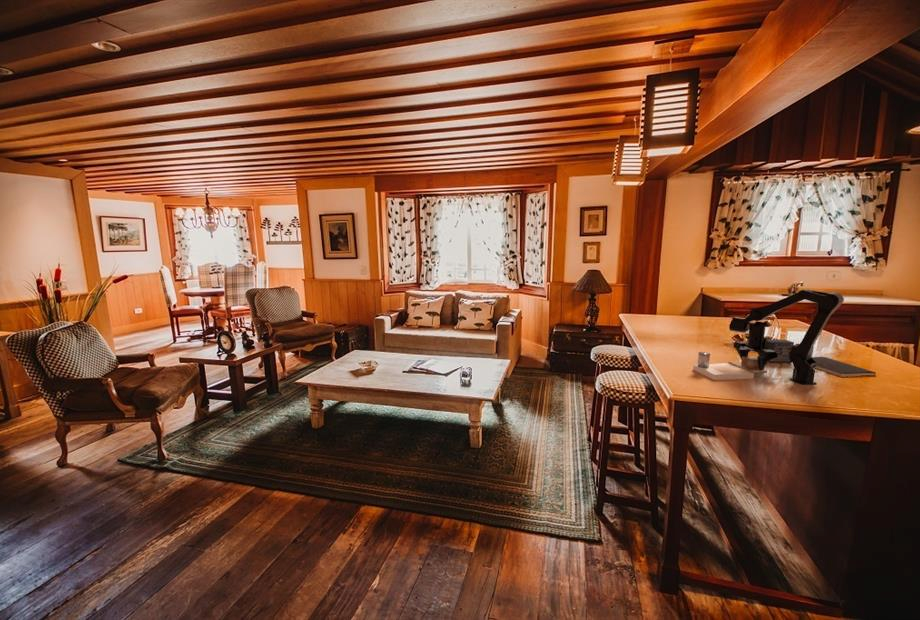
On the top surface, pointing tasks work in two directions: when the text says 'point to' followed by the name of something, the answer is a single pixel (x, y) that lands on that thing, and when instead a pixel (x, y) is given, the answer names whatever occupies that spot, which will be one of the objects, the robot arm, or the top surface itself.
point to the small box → (781, 351)
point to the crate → (751, 364)
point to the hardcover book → (840, 367)
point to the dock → (725, 371)
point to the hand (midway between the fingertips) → (752, 367)
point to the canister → (703, 359)
